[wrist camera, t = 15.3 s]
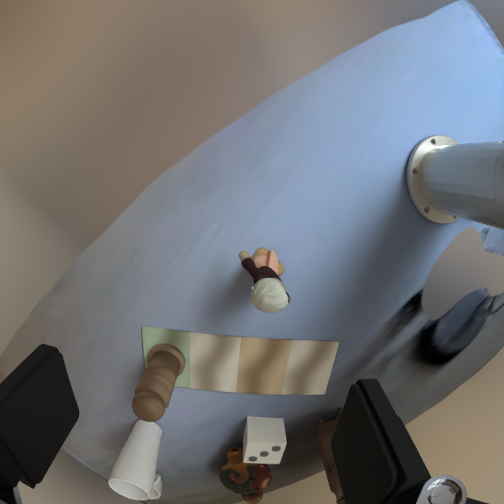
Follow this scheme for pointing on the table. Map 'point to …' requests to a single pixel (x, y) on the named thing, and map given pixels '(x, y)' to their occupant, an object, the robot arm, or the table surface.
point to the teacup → (156, 487)
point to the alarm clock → (330, 456)
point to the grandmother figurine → (266, 280)
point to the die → (264, 440)
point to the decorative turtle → (244, 476)
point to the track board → (248, 362)
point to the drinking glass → (137, 462)
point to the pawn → (158, 382)
